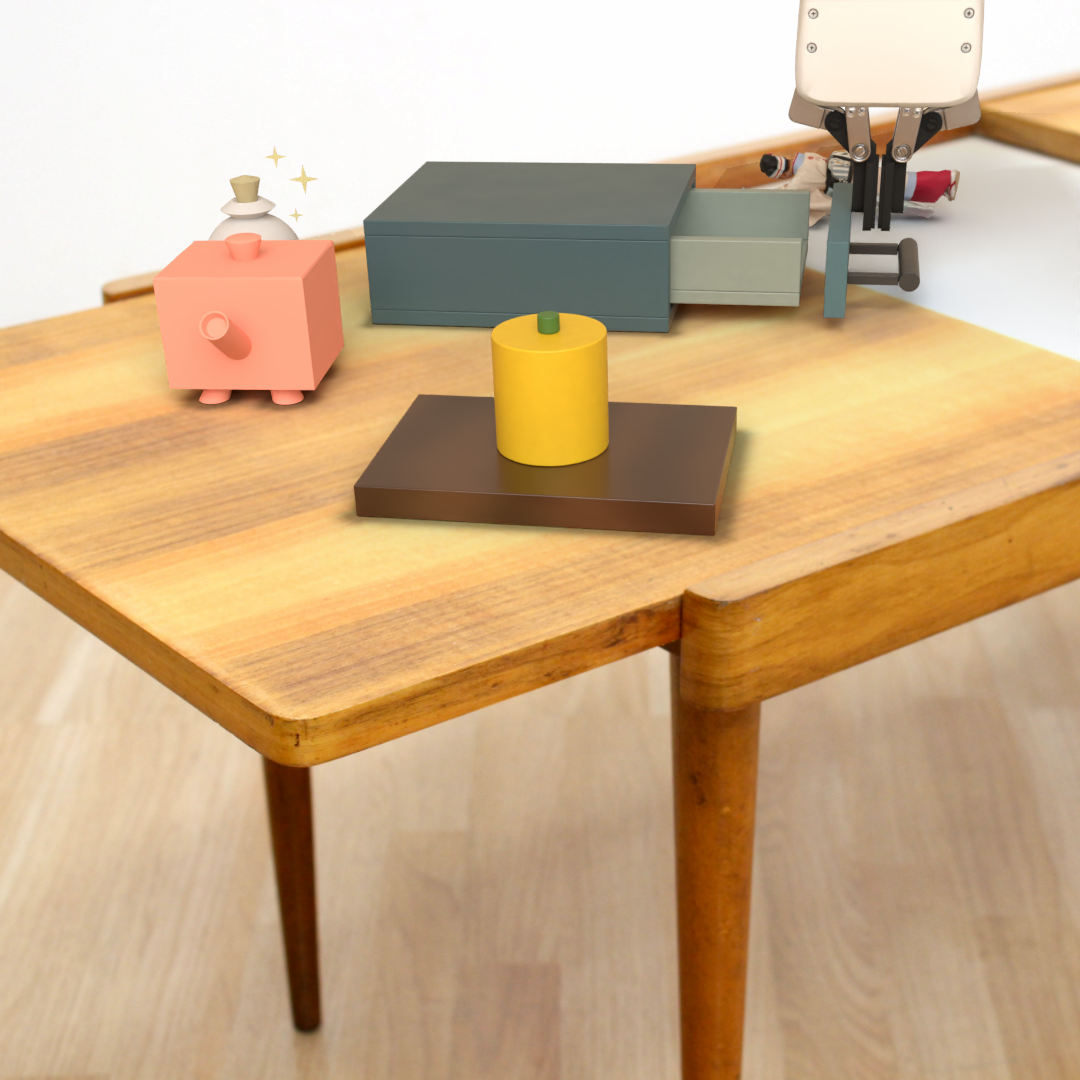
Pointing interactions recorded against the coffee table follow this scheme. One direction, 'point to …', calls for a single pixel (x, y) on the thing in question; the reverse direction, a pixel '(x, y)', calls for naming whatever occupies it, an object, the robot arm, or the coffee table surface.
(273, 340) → the pink cube teapot
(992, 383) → the coffee table surface
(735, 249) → the drawer
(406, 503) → the board
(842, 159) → the figurine
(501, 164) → the cabinet
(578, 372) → the pepper
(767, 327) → the coffee table surface
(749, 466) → the coffee table surface
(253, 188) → the corked potion bottle
